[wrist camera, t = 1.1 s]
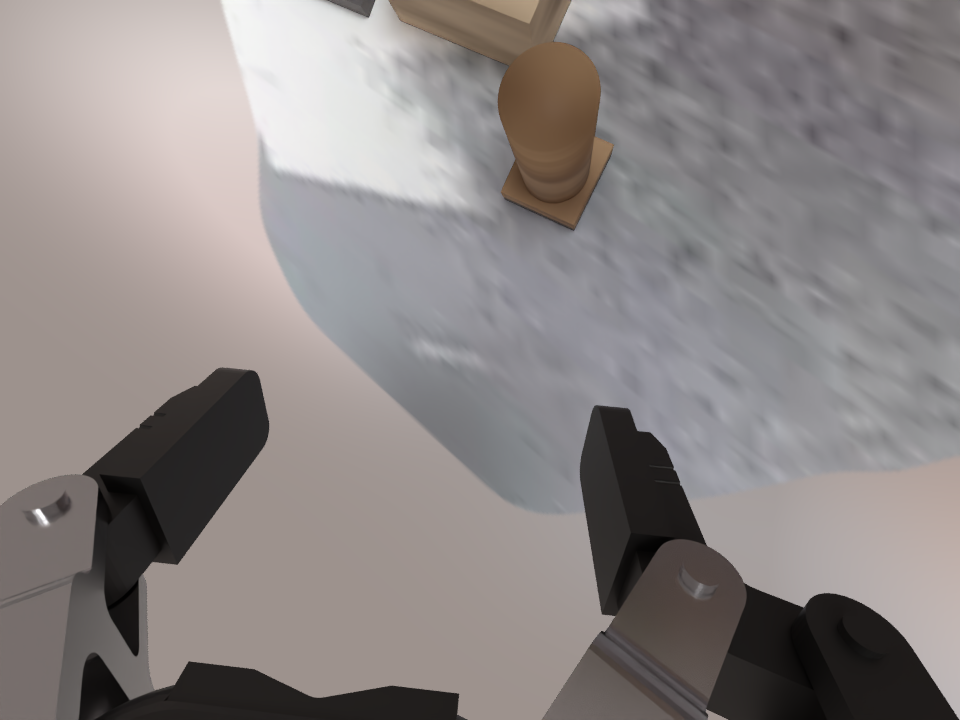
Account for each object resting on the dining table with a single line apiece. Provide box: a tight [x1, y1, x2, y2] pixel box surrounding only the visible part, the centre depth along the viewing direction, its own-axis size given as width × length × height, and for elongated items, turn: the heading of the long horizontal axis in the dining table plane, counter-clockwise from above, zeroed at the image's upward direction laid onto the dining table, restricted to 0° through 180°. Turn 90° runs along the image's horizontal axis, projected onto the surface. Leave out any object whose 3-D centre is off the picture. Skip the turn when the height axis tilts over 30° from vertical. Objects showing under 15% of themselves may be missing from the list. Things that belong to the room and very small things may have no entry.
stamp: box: [498, 42, 614, 230], centre depth 21 cm, size 4×4×10 cm
